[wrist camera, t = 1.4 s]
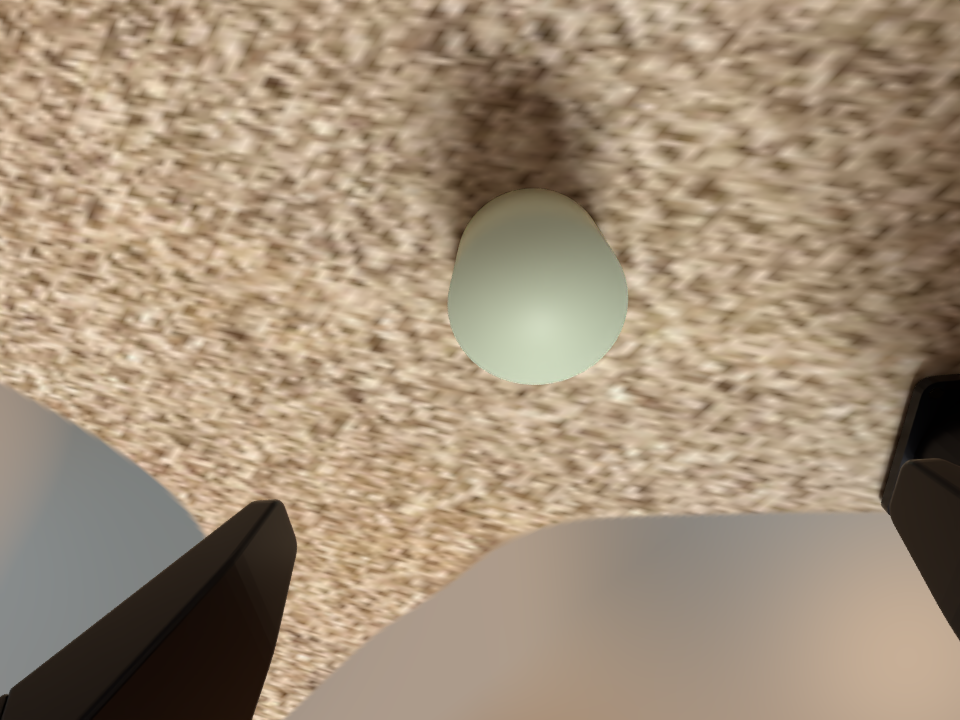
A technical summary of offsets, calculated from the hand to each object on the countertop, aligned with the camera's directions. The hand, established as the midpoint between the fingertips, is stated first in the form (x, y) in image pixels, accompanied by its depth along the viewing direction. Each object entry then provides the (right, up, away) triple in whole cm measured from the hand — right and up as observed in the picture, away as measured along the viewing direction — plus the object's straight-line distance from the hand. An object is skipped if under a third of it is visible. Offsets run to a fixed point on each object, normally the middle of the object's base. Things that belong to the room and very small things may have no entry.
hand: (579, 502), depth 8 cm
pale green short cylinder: (0, +5, +11) cm, 12 cm away
